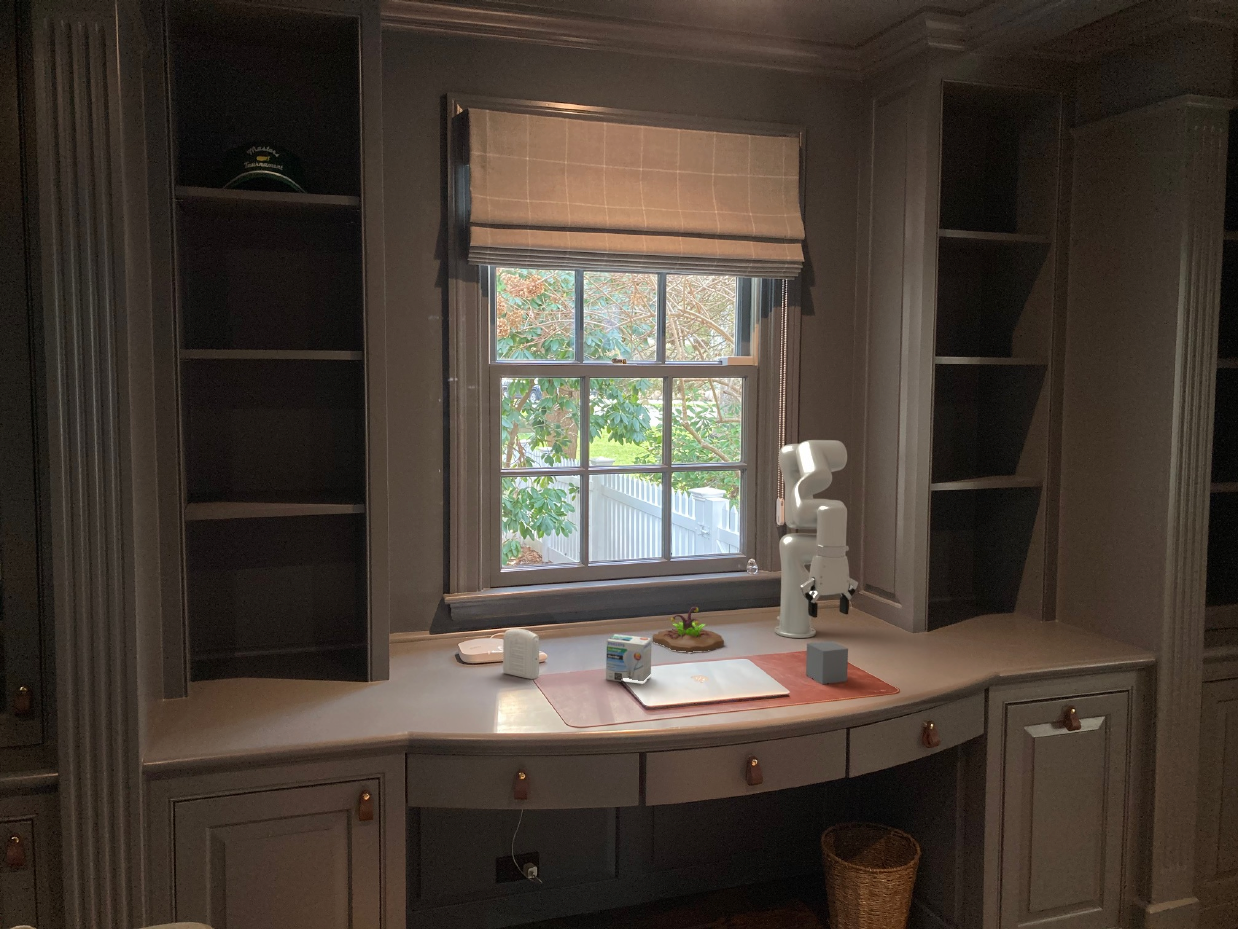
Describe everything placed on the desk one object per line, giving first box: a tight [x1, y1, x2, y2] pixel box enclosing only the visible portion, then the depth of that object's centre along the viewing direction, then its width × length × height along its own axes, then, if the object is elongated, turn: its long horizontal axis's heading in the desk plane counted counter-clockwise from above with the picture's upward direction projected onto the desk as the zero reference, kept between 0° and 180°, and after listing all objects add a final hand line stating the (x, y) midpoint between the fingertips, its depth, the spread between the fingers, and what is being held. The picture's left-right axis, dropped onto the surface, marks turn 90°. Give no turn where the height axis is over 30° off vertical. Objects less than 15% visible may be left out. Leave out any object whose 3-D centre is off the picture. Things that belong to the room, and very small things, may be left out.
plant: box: [652, 606, 725, 652], centre depth 275 cm, size 20×20×11 cm
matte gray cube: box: [805, 640, 849, 685], centre depth 243 cm, size 8×8×9 cm
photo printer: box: [502, 628, 540, 680], centre depth 243 cm, size 10×4×12 cm, turn 60°
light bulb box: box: [605, 633, 653, 683], centre depth 241 cm, size 11×7×11 cm, turn 70°
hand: (828, 614), depth 243 cm, fingers open, 9 cm apart
